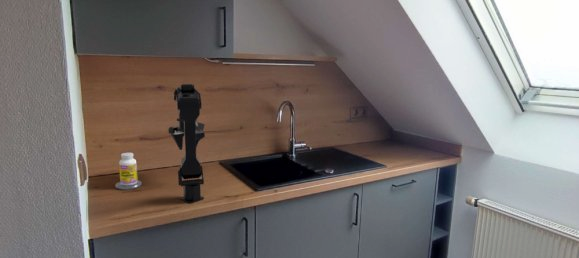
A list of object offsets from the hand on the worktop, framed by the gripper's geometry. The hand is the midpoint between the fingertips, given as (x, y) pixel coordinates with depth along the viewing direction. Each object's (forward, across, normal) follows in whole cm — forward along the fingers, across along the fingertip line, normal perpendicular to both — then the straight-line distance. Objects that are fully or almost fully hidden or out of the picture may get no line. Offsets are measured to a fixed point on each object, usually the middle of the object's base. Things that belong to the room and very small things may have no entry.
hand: (187, 151), depth 161 cm
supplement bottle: (+12, +12, +21) cm, 27 cm away
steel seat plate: (+13, +12, +21) cm, 27 cm away
